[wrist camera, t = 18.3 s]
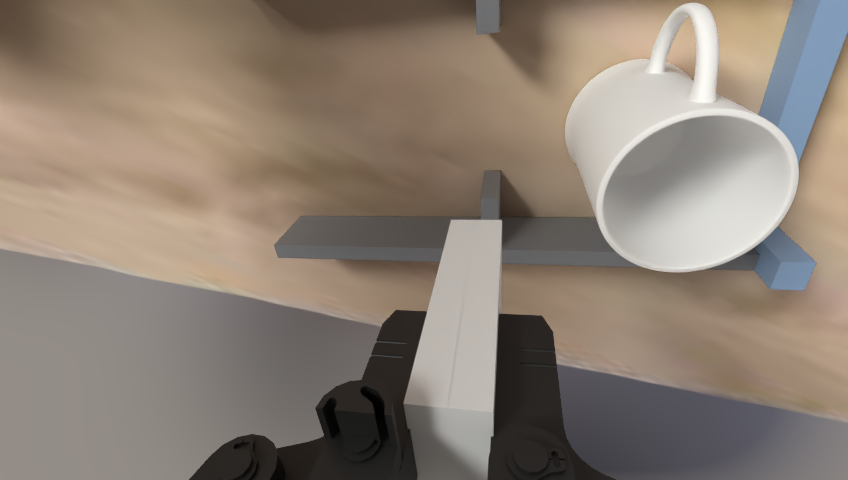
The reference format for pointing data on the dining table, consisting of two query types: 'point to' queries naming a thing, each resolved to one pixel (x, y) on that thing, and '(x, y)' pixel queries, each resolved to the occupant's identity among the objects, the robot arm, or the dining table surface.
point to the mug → (678, 158)
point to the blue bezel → (799, 115)
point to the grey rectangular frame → (427, 235)
